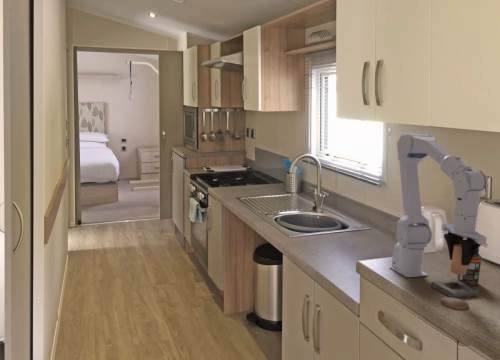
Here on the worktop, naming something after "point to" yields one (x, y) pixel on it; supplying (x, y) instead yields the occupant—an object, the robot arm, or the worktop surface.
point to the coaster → (454, 303)
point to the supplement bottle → (472, 271)
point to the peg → (458, 261)
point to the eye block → (463, 292)
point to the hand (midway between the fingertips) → (459, 262)
